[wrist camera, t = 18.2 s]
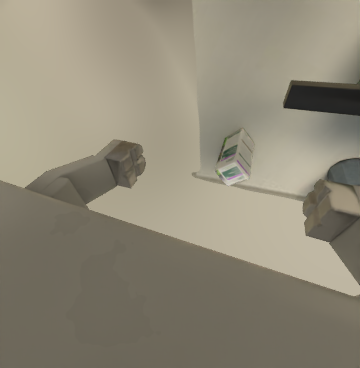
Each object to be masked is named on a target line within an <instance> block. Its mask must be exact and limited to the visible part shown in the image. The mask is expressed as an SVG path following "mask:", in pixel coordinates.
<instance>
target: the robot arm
mask: <svg viewBox="0 0 360 368" xmlns="http://www.w3.org/2000/svg"><path fill="white" fill-rule="evenodd" d="M142 153H143V148H142V146H141V145H140V144H136V143H131V142H126V141H121V140H113V141H111V142H110V143H109V144H108V145H107V146H106V147H104V148H103V149H102V150H101V151H100V152H99V153H98V154H97V155H95V156H93V155H92V156H89V157H86V158H84V159H81V160H78V161H75V162H72V163H69V164H67V165H63V166H61V167H58V168H55V169H52V170H49V171H46V172H45V173H43V174H42V175H41V176H40V177H38V178H37V179H36V180H34V181H33V182H32V183H30V184H29V185H28V186H27V187H25V188H22V187H18V186H16V185H12V184H9V183H6V182H3V181H0V368H360V295H357V296H351V295H347V294H344V293H341V292H338V291H335V290H332V289H329V288H326V287H323V286H320V285H317V284H314V283H311V282H308V281H305V280H302V279H299V278H295V277H293V276H290V275H286V274H283V273H280V272H277V271H274V270H271V269H268V268H265V267H262V266H259V265H256V264H253V263H250V262H247V261H244V260H241V259H238V258H235V257H232V256H229V255H226V254H223V253H220V252H216V251H213V250H210V249H207V248H204V247H201V246H198V245H195V244H192V243H189V242H186V241H183V240H180V239H177V238H174V237H171V236H168V235H165V234H162V233H158V232H155V231H152V230H149V229H146V228H143V227H140V226H137V225H134V224H131V223H128V222H125V221H122V220H119V219H115V218H113V217H110V216H107V215H104V214H100V213H98V212H94V211H91V210H89V209H88V207H87V206H86V204H87V203H89V202H91V201H92V200H94V199H96V198H98V197H99V196H101V195H103V194H104V193H106V192H108V191H109V190H111V189H113V188H115V187H116V186H117V185H119V186H123V187H128V188H131V187H132V186H133V185H134V184H135V182H136V181H137V176H139V175H141V174H142V173H143V171H144V169H145V165H146V162H145V158H144V157H143V155H142ZM314 190H315V191H312V192H310V193H308V195H307V196H306V198H305V200H304V203H303V214H304V215H305V216H306V217H307V219H306V220H305V222H304V225H305V233H306V236H309V237H313V238H316V239H320V240H323V241H326V242H330V243H329V244H330V245H331V246H332V248H333V249H334V251H335V252H336V253H337V255H338V256H339V257H340V259H341V260H342V262H343V263H344V264H345V266H346V267H347V268H348V270H349V271H350V272H351V274H352V275H353V277H354V278H355V280H356V281H357V282H358V284H359V285H360V186H357V185H351V184H350V185H349V184H344V183H338V182H333V181H328V180H322V179H320V180H318V181H317V182H316V184H315V185H314Z"/></svg>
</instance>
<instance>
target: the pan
mask: <svg viewBox="0 0 360 368" xmlns="http://www.w3.org/2000/svg"><path fill="white" fill-rule="evenodd" d="M283 107H284V108H288V109H298V110H308V111H318V112H328V113H338V114H348V115H358V116H360V84H344V83H327V82H311V81H294V80H291V82H290V85H289V88H288V90H287V93H286V96H285V99H284V102H283Z"/></svg>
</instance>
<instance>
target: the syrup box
mask: <svg viewBox="0 0 360 368" xmlns="http://www.w3.org/2000/svg"><path fill="white" fill-rule="evenodd" d="M253 149H254V143H253V141H252V140H251V139H250V137H249V136H248V134H247V133H246V132H245V130H244V129H243V128H242V129H241V130H239V131H237V132H235V133H233V134H232V135H230V136H228V137H227V138H225V140H224V143H223V146H222V149H221V152H220V155H219V158H218V161H217V164H216V167H215V170H214V171H215V172H216V174H217V175H218V176H219V177H220V179H221V180H222V181H223V182H224V183H225V184H226V185H227V186H230V185H232V184H236V183H239V182H242V181H244V180H247V179H250V173H251V165H252V157H253Z"/></svg>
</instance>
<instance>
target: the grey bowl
mask: <svg viewBox="0 0 360 368" xmlns="http://www.w3.org/2000/svg"><path fill="white" fill-rule="evenodd" d="M328 179H329V181H333V182H338V183H344V184H349V185H350V184H351V185H357V186H360V159H350V160H345V161H342V162H339V163H337V164H336V165H334V166H333V167H331V168H330V170H329V172H328Z"/></svg>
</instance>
